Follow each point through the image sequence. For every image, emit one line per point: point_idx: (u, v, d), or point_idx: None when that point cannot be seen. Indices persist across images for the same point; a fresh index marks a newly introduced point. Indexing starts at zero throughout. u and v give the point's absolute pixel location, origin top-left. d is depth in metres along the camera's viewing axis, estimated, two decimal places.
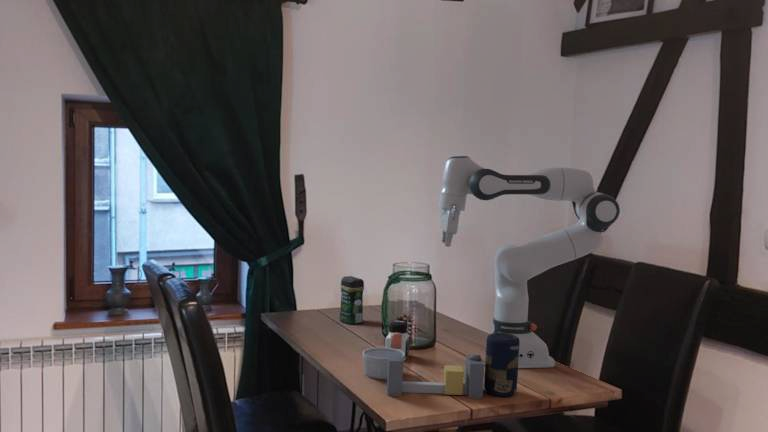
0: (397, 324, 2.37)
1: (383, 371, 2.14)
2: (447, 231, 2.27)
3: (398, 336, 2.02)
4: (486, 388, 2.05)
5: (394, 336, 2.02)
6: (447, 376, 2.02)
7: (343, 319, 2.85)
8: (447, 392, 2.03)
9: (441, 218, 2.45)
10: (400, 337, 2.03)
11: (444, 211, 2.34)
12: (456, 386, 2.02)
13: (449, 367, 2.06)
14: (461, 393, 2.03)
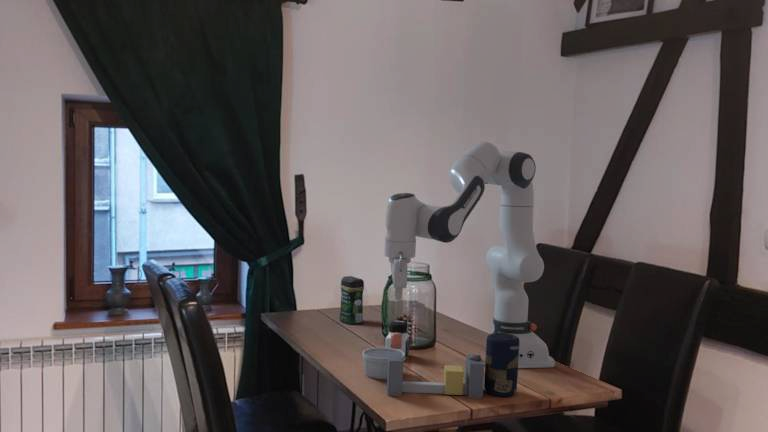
0: (397, 324, 2.37)
1: (383, 371, 2.14)
2: (395, 285, 1.93)
3: (398, 336, 2.02)
4: (486, 388, 2.05)
5: (394, 336, 2.02)
6: (447, 376, 2.02)
7: (343, 319, 2.85)
8: (447, 392, 2.03)
9: (391, 266, 2.11)
10: (400, 337, 2.03)
11: (391, 260, 2.00)
12: (456, 386, 2.02)
13: (449, 367, 2.06)
14: (461, 393, 2.03)
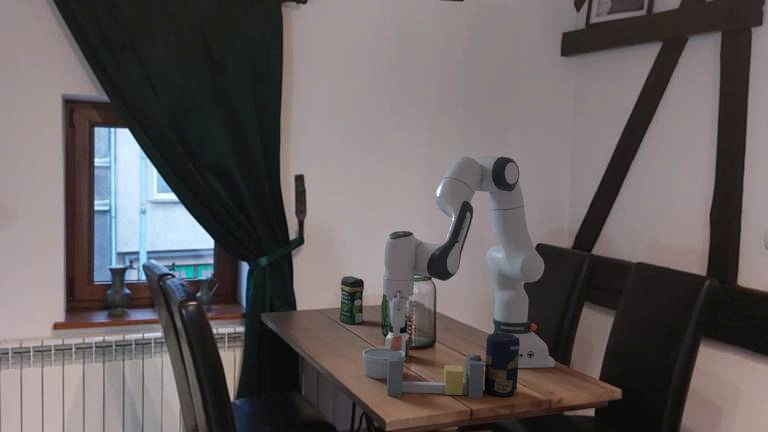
0: None
1: (383, 371, 2.14)
2: (393, 325, 1.94)
3: (398, 338, 2.02)
4: (486, 388, 2.05)
5: (394, 338, 2.02)
6: (447, 376, 2.02)
7: (343, 319, 2.85)
8: (447, 392, 2.03)
9: (390, 302, 2.11)
10: (400, 339, 2.03)
11: (389, 298, 2.01)
12: (456, 386, 2.02)
13: (449, 367, 2.06)
14: (461, 393, 2.03)
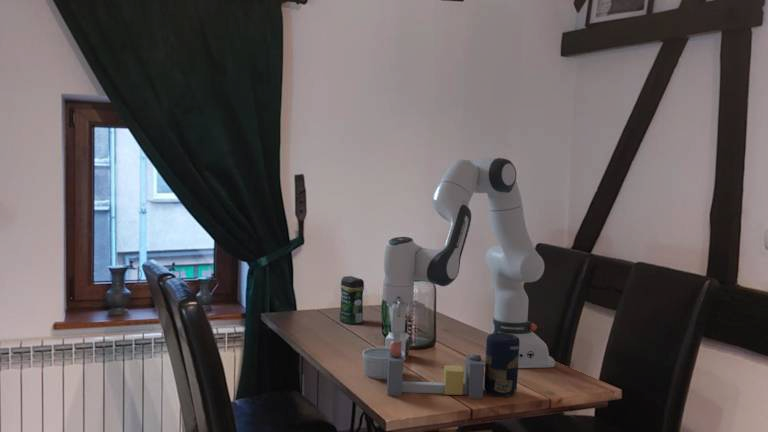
0: None
1: (383, 371, 2.14)
2: (393, 331, 1.94)
3: (398, 344, 2.03)
4: (486, 388, 2.05)
5: (394, 344, 2.03)
6: (447, 376, 2.02)
7: (343, 319, 2.85)
8: (447, 392, 2.03)
9: (390, 308, 2.12)
10: (400, 345, 2.03)
11: (389, 304, 2.01)
12: (456, 386, 2.02)
13: (449, 367, 2.06)
14: (461, 393, 2.03)
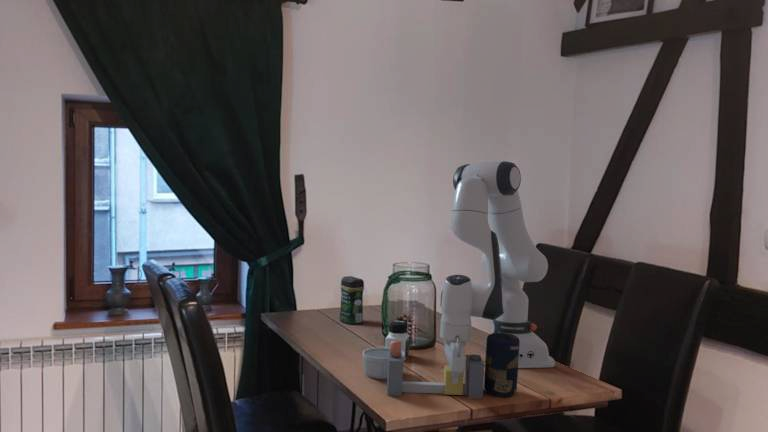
0: (397, 324, 2.37)
1: (383, 371, 2.14)
2: (453, 371, 1.95)
3: (398, 344, 2.03)
4: (486, 388, 2.05)
5: (394, 344, 2.03)
6: (447, 376, 2.02)
7: (343, 319, 2.85)
8: (447, 392, 2.03)
9: (445, 344, 2.13)
10: (400, 345, 2.03)
11: (447, 343, 2.02)
12: (456, 386, 2.02)
13: (449, 367, 2.06)
14: (461, 393, 2.03)
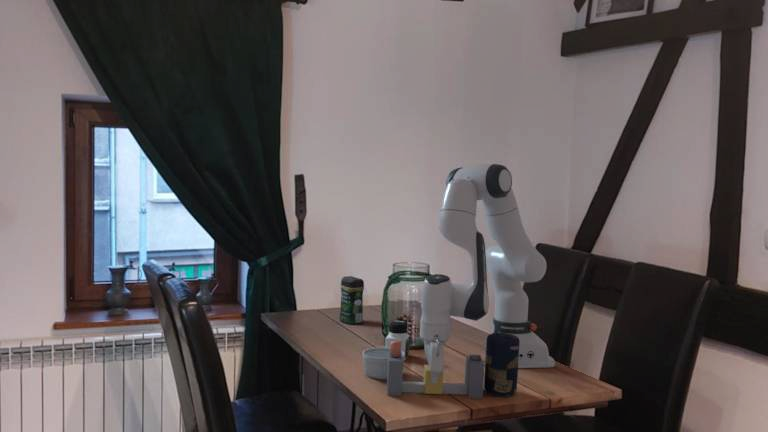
0: (397, 324, 2.37)
1: (383, 371, 2.14)
2: (432, 370, 1.95)
3: (398, 344, 2.03)
4: (486, 388, 2.05)
5: (394, 344, 2.03)
6: (427, 375, 2.02)
7: (343, 319, 2.85)
8: (427, 391, 2.02)
9: (425, 344, 2.13)
10: (400, 345, 2.03)
11: (427, 342, 2.02)
12: (436, 386, 2.02)
13: None
14: (441, 392, 2.03)
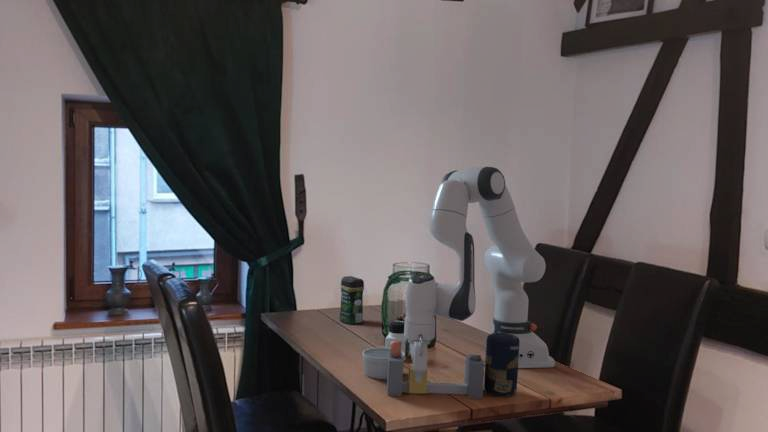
0: (397, 324, 2.37)
1: (383, 371, 2.14)
2: (415, 369, 1.95)
3: (398, 344, 2.03)
4: (486, 388, 2.05)
5: (394, 344, 2.03)
6: (411, 375, 2.02)
7: (343, 319, 2.85)
8: (411, 391, 2.02)
9: None
10: (400, 345, 2.03)
11: (411, 342, 2.02)
12: (420, 385, 2.02)
13: None
14: (425, 392, 2.02)
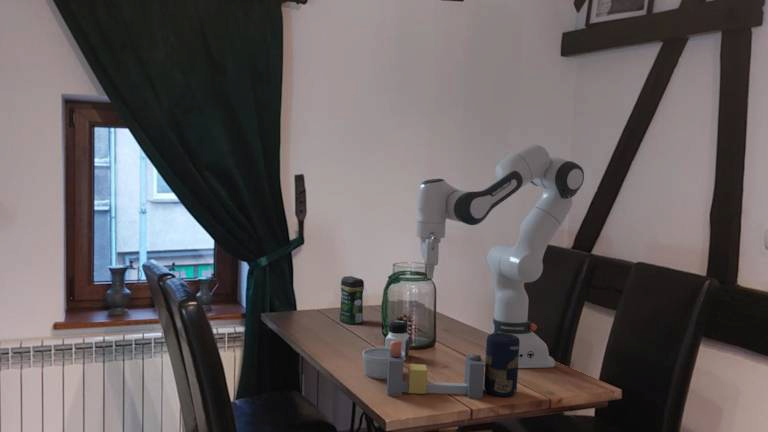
0: (397, 324, 2.37)
1: (383, 371, 2.14)
2: (427, 263, 2.10)
3: (398, 344, 2.03)
4: (486, 388, 2.05)
5: (394, 344, 2.03)
6: (411, 375, 2.02)
7: (343, 319, 2.85)
8: (411, 391, 2.02)
9: (422, 246, 2.27)
10: (400, 345, 2.03)
11: (423, 240, 2.17)
12: (420, 385, 2.02)
13: (413, 366, 2.06)
14: (425, 392, 2.02)
